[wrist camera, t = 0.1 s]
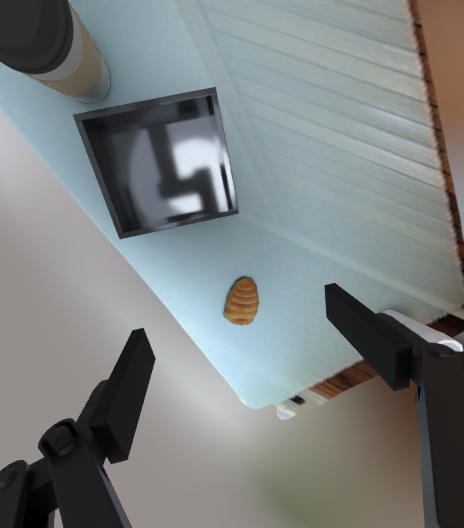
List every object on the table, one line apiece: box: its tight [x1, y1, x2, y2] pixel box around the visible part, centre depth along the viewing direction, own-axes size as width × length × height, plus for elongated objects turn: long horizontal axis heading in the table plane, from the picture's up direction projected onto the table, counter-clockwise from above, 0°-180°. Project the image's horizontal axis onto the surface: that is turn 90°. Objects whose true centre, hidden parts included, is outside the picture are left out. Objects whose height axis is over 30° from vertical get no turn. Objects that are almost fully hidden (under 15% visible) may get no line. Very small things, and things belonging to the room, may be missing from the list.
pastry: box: [223, 278, 259, 325], centre depth 46 cm, size 9×7×4 cm
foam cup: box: [380, 309, 463, 351], centre depth 48 cm, size 10×9×13 cm
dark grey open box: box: [73, 87, 239, 239], centre depth 35 cm, size 17×19×6 cm
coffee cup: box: [0, 0, 111, 103], centre depth 26 cm, size 9×9×15 cm
